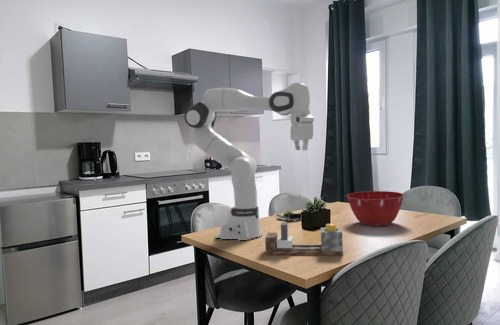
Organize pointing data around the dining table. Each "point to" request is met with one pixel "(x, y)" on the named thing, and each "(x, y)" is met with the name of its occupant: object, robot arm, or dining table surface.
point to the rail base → (329, 245)
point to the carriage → (284, 237)
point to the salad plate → (289, 216)
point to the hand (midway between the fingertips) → (301, 150)
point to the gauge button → (330, 227)
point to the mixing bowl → (375, 206)
